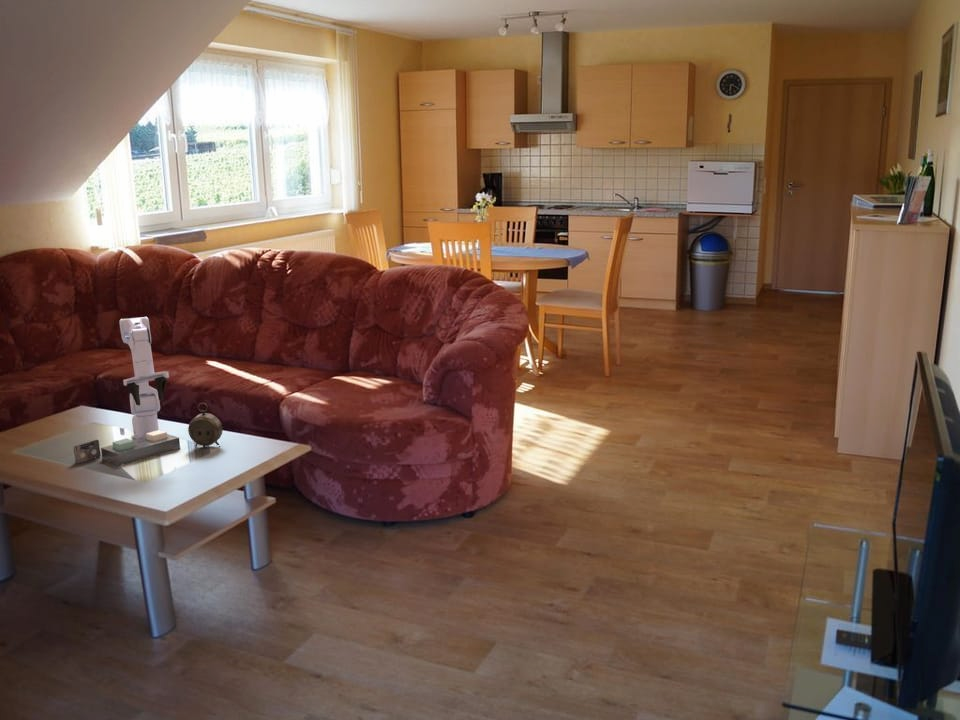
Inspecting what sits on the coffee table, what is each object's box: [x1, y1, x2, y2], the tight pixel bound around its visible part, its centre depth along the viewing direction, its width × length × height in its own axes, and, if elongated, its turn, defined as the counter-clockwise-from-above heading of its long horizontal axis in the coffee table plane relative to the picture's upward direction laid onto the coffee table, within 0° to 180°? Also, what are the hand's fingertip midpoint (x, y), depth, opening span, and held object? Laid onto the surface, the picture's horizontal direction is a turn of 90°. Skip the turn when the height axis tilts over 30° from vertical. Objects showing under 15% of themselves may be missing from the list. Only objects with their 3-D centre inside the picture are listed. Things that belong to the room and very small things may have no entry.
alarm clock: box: [187, 402, 223, 450], centre depth 299 cm, size 11×5×16 cm, turn 84°
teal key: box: [112, 438, 135, 451], centre depth 292 cm, size 5×5×4 cm
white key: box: [146, 429, 168, 442], centre depth 300 cm, size 5×5×4 cm
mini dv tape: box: [73, 439, 102, 463], centre depth 292 cm, size 8×2×6 cm, turn 144°
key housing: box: [100, 433, 181, 467], centre depth 296 cm, size 12×22×4 cm, turn 140°
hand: (149, 402), depth 287 cm, fingers open, 7 cm apart
